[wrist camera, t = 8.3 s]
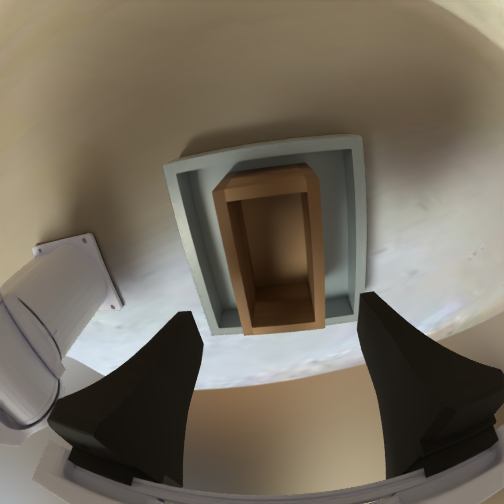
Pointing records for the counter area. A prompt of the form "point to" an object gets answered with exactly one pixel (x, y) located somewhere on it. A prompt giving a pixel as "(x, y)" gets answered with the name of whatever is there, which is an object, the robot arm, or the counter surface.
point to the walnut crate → (274, 247)
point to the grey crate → (333, 219)
